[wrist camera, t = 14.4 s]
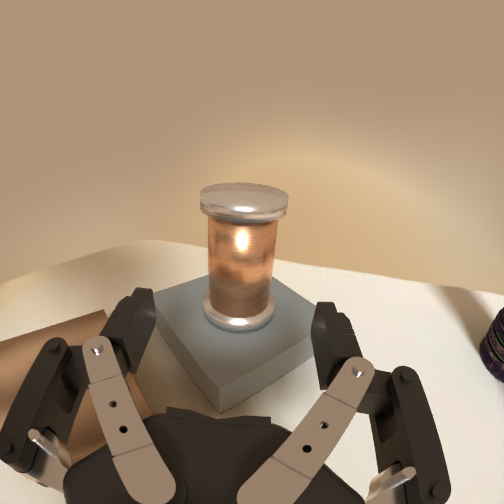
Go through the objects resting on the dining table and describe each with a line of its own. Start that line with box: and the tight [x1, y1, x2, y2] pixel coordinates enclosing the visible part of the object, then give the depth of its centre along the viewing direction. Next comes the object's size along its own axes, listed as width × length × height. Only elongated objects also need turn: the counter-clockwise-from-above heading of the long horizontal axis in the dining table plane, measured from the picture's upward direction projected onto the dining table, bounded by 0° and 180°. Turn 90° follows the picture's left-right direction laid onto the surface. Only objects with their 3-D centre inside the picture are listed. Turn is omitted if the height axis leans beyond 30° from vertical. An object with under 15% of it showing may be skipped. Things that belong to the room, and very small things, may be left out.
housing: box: [200, 183, 288, 333], centre depth 23 cm, size 7×7×11 cm
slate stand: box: [153, 275, 316, 414], centre depth 26 cm, size 13×13×4 cm
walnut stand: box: [0, 309, 154, 466], centre depth 16 cm, size 13×13×4 cm
